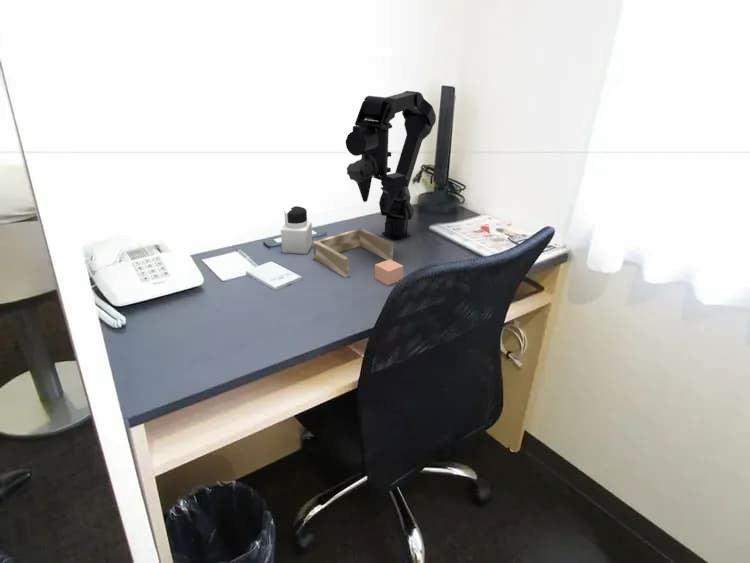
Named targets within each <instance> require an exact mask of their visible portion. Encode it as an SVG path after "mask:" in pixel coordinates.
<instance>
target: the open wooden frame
mask: <svg viewBox="0 0 750 563" xmlns="http://www.w3.org/2000/svg"><path fill="white" fill-rule="evenodd" d="M359 247H361V248H362V249H365V250H366V251H369V252H370V253H373V254H375V255H376V256H378V257H380V258H382V259H384V260H385V261H386V260H389V259H390V260H392V261H394V243H393V242H391V241H390V240H387V239H385V238H382V237H381V236H379V235H377V234H374V233H372V232H370V231H368V230H367V229H364V228H361V227H359V228H356V229H352V230H349V231H346V232H342V233H338V234H336V235H331V236H328V237H324V238H322V239H318V240H314V241H312V248H313V250H312V251H313V259H314V260H315V261H317V262H319V263H320V264H321V265H324V266H325V267H327V268H329V269H331V270H332V271H334V272H335V273H338V274H339V275H340V276H342V277H343V278H347V277H349V274H350V272H349V271H350V270H349V269H350V268H349V266H350V264H349V257H347V256H345V255H343V254H341V253H343V252H346V251H349V250H353V249H356V248H359Z"/></svg>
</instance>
